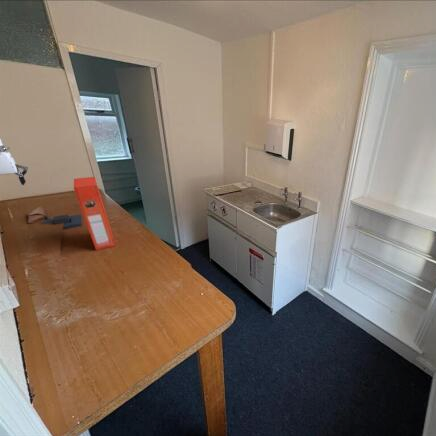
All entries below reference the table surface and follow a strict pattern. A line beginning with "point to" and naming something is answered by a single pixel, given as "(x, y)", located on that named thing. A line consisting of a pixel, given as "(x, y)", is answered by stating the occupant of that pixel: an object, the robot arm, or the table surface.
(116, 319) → the table surface
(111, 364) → the table surface
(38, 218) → the sunglasses case
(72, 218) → the socket pad
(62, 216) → the black pad
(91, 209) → the file binder
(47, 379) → the table surface
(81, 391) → the table surface
